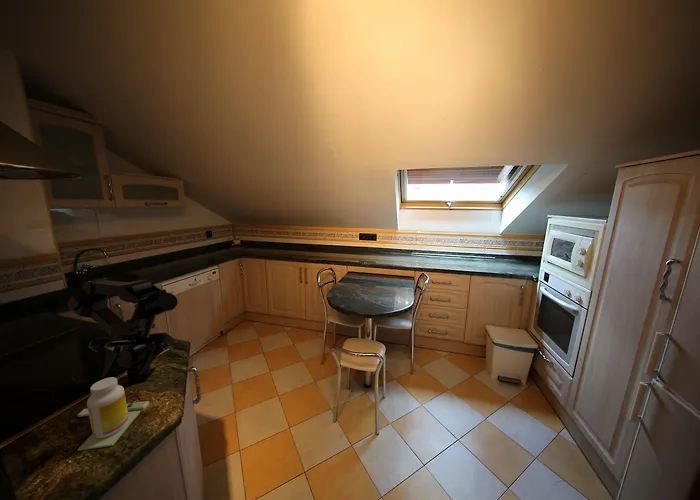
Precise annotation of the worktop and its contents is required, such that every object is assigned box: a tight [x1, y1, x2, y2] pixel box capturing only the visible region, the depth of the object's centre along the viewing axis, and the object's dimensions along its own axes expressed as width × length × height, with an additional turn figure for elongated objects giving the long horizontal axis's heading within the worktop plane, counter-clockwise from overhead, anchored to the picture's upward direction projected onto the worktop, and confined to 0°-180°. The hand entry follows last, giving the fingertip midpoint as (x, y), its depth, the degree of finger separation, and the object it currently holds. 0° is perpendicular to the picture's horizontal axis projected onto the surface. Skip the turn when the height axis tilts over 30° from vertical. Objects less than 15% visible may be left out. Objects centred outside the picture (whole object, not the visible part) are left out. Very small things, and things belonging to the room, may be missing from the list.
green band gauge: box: [77, 400, 150, 452], centre depth 62 cm, size 13×16×1 cm
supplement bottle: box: [86, 377, 129, 438], centre depth 61 cm, size 7×7×13 cm
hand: (121, 374), depth 65 cm, fingers open, 9 cm apart
